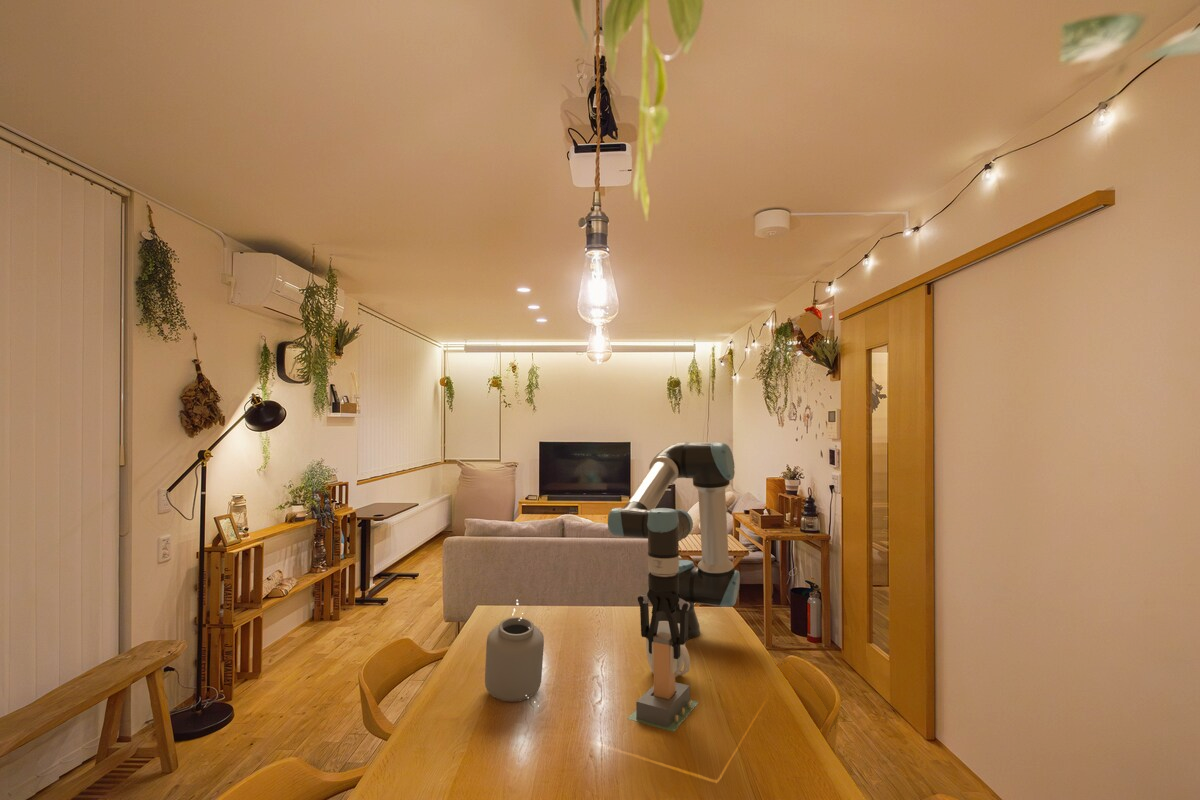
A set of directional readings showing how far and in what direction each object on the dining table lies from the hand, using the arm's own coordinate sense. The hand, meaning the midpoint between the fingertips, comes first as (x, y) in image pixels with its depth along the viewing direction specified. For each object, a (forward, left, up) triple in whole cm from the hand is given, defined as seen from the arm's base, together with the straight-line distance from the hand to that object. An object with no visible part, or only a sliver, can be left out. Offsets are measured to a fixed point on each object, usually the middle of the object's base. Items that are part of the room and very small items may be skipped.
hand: (664, 669), depth 140 cm
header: (0, 0, -10) cm, 10 cm away
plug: (0, 0, -6) cm, 6 cm away
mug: (-19, -7, -11) cm, 23 cm away
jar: (+11, -37, -11) cm, 40 cm away
